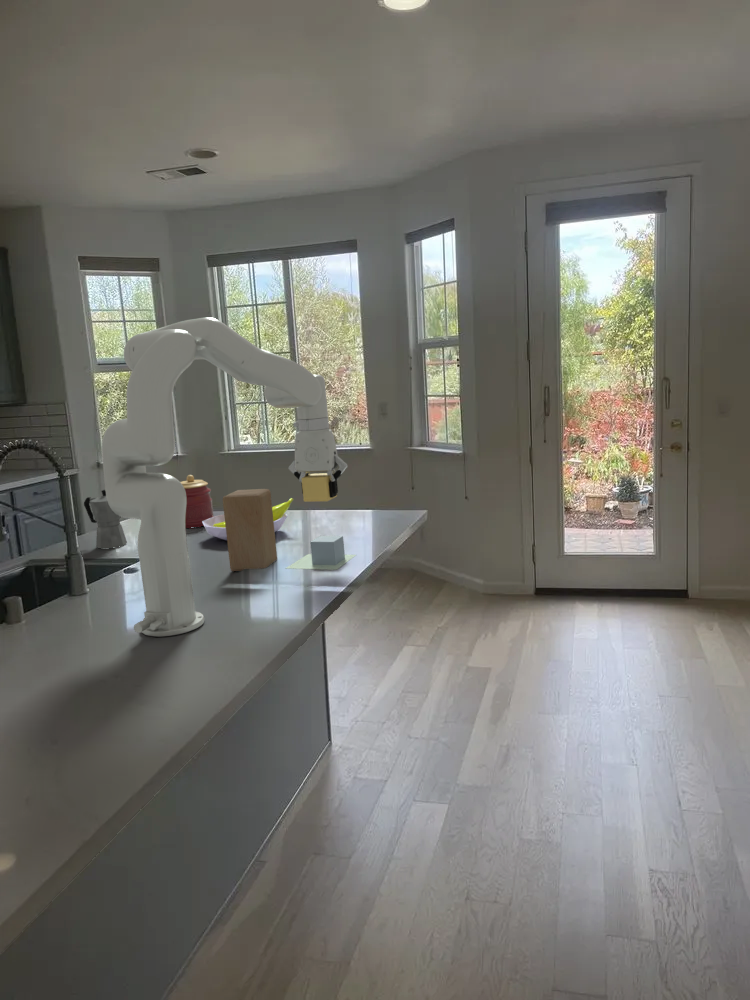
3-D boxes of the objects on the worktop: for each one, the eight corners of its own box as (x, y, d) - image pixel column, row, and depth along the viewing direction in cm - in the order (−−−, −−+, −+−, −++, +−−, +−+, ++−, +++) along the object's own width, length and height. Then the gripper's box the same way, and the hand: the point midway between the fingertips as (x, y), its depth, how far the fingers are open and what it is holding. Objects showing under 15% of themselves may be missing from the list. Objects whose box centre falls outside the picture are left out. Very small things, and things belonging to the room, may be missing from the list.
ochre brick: (327, 501, 181) (325, 477, 180) (303, 501, 183) (301, 477, 182) (337, 496, 187) (335, 473, 186) (314, 496, 189) (311, 473, 188)
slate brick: (335, 565, 185) (333, 541, 184) (312, 564, 187) (310, 541, 186) (344, 558, 191) (343, 535, 190) (322, 558, 193) (320, 535, 192)
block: (266, 572, 187) (258, 494, 184) (229, 572, 189) (220, 496, 186) (278, 561, 197) (271, 488, 193) (243, 562, 199) (235, 489, 195)
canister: (222, 521, 258) (217, 472, 255) (195, 530, 247) (189, 478, 244) (196, 520, 265) (190, 471, 262) (168, 528, 254) (162, 477, 251)
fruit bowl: (187, 546, 223) (183, 510, 221) (231, 526, 248) (228, 493, 246) (270, 547, 214) (267, 509, 212) (308, 526, 239) (304, 492, 237)
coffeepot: (138, 542, 234) (131, 487, 231) (117, 550, 225) (109, 492, 222) (101, 541, 240) (93, 487, 237) (79, 548, 232) (71, 492, 228)
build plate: (336, 573, 181) (336, 569, 181) (285, 572, 185) (285, 568, 185) (356, 558, 194) (356, 554, 194) (308, 557, 198) (308, 554, 198)
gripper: (275, 428, 181) (283, 500, 185) (340, 425, 176) (347, 499, 179) (288, 425, 188) (295, 494, 192) (351, 422, 182) (357, 493, 186)
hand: (320, 496), depth 185 cm, fingers closed on ochre brick, 6 cm apart
